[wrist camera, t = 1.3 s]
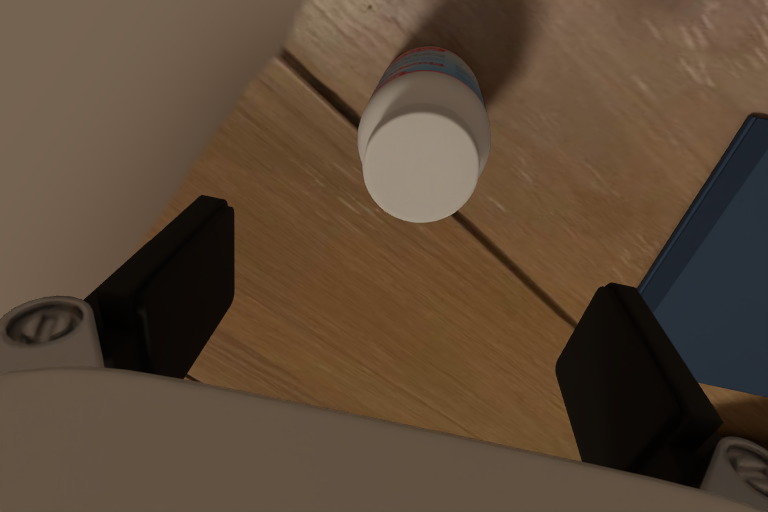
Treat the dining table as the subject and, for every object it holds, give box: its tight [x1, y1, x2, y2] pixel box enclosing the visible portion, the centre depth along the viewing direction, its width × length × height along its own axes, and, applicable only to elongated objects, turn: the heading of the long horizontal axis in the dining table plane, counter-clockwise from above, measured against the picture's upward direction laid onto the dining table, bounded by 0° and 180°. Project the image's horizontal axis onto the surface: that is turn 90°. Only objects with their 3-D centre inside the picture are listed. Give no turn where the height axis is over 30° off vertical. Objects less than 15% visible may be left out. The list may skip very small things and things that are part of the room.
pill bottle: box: [358, 46, 491, 223], centre depth 22 cm, size 6×6×11 cm
